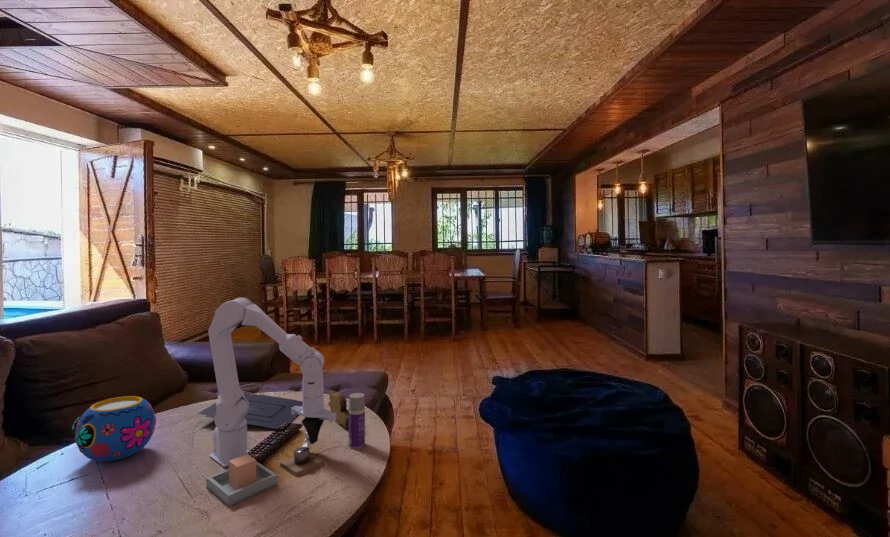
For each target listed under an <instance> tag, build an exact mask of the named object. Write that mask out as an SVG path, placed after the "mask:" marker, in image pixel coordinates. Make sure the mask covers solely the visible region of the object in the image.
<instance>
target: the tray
mask: <svg viewBox="0 0 890 537" xmlns="http://www.w3.org/2000/svg"><path fill="white" fill-rule="evenodd" d="M277 485H278V474H276V473H275V472H274V471H272V470H270V469H269V468H267V467H266V466H264V465H263V464H261V463H260V462H258V461H257V460H256V482H255V483H252V484H250V485H248V486H245V487H243V488H241V489H238V490H235V489H233V488H232V487H231V486H230V485H229V468H228V469H226V470H223V471H221V472H218V473H215V474H212V475H210V476H207V477H206V489H208V490H209V491H210V492H211V493H212V494H213V495H214V496H216V497H217V498H218V499H219V500H220V501H221V502H222V503H223V504H225V505H226V506H227V507H230V506H233V505H235V504H237V503H240V502H242V501H244V500H246V499H249V498H251V497H253V496H255V495H258V494H260V493H263V492H264V491H266V490H268V489H271V488H273V487H275V486H277Z"/></svg>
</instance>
